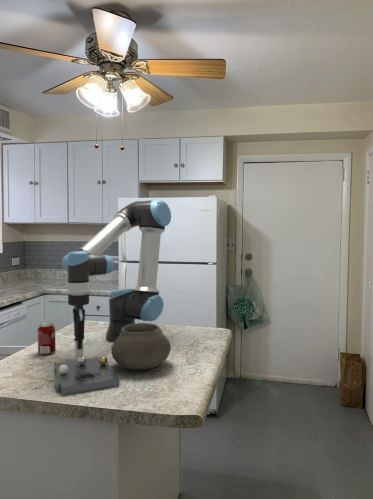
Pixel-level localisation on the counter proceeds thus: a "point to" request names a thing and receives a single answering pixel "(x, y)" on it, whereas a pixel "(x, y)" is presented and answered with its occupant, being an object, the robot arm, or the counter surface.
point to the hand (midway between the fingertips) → (79, 356)
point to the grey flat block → (85, 376)
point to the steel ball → (81, 360)
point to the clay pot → (140, 346)
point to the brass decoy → (103, 360)
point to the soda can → (46, 339)
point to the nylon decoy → (63, 369)
